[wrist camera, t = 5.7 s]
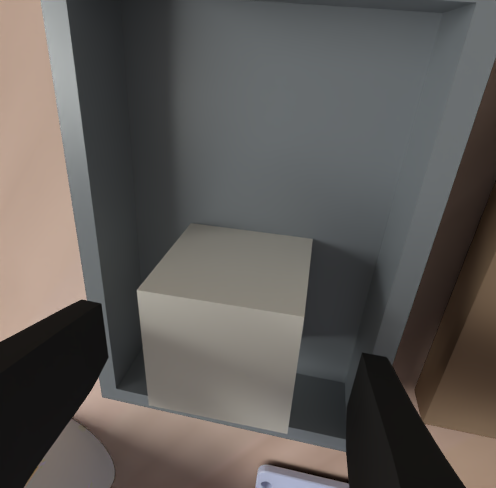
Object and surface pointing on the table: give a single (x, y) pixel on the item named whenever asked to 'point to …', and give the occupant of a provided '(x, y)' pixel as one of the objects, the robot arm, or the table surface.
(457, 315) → the brown flat slab
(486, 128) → the table surface
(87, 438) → the cup
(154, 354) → the cream matte cube
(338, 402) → the bin
